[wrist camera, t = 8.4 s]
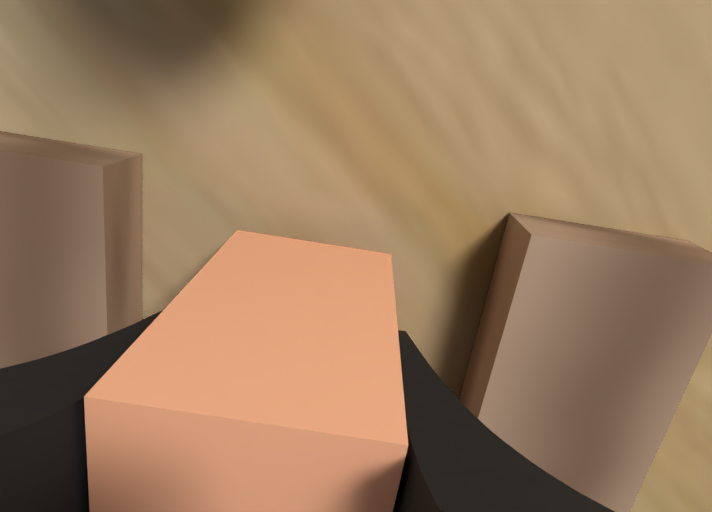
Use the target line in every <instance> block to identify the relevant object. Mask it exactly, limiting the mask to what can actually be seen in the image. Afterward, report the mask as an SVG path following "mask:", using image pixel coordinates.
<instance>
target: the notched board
mask: <svg viewBox="0 0 712 512" xmlns="http://www.w3.org/2000/svg"><path fill="white" fill-rule="evenodd" d="M141 320H142V154H139V153H133V152H126V151H120V150H114V149H107V148H101V147H95V146H89V145H82V144H76V143H70V142H64V141H57V140H51V139H45V138H38V137H32V136H26V135H20V134H13V133H7V132H1V131H0V369H1V368H5V367H9V366H13V365H17V364H21V363H25V362H29V361H33V360H37V359H40V358H43V357H47V356H50V355H53V354H56V353H60V352H63V351H66V350H69V349H72V348H75V347H78V346H80V345H83V344H86V343H89V342H91V341H94V340H96V339H99V338H101V337H103V336H106V335H108V334H111V333H113V332H116V331H118V330H121V329H123V328H126V327H128V326H130V325H132V324H135V323H137V322H139V321H141ZM711 334H712V253H711V252H709V251H708V250H706V249H704V248H702V247H700V246H698V245H696V244H694V243H692V242H690V241H684V240H678V239H672V238H666V237H659V236H653V235H647V234H641V233H634V232H628V231H622V230H615V229H609V228H603V227H597V226H590V225H584V224H578V223H572V222H565V221H559V220H553V219H546V218H540V217H534V216H528V215H521V214H515V213H509V216H508V220H507V224H506V227H505V231H504V235H503V238H502V242H501V246H500V249H499V253H498V257H497V261H496V264H495V268H494V272H493V275H492V279H491V283H490V286H489V290H488V294H487V297H486V301H485V305H484V308H483V312H482V316H481V320H480V323H479V327H478V331H477V334H476V338H475V342H474V345H473V349H472V353H471V356H470V360H469V364H468V367H467V371H466V375H465V379H464V382H463V386H462V390H461V393H460V397H459V401H460V402H461V403H462V404H463V405H464V406H465V407H466V408H467V409H468V410H469V411H470V412H471V413H472V414H473V415H474V416H476V417H477V418H478V419H479V420H480V421H481V422H482V423H483V424H484V425H485V426H486V427H488V428H489V429H490V430H491V431H492V432H493V433H494V434H496V435H497V436H498V437H499V438H501V439H502V440H503V441H504V442H506V443H507V444H508V445H510V446H511V447H512V448H513V449H515V450H516V451H517V452H519V453H520V454H521V455H523V456H524V457H525V458H527V459H528V460H530V461H531V462H532V463H534V464H535V465H537V466H538V467H540V468H541V469H543V470H544V471H546V472H547V473H549V474H550V475H552V476H554V477H555V478H557V479H558V480H560V481H561V482H563V483H565V484H566V485H568V486H569V487H571V488H573V489H574V490H576V491H578V492H579V493H581V494H583V495H585V496H587V497H588V498H590V499H592V500H594V501H596V502H598V503H600V504H602V505H603V506H605V507H607V508H609V509H611V510H613V511H615V512H629V511H630V509H631V507H632V505H633V503H634V501H635V498H636V496H637V494H638V492H639V490H640V488H641V485H642V483H643V481H644V479H645V477H646V475H647V472H648V470H649V468H650V466H651V464H652V462H653V459H654V457H655V455H656V453H657V451H658V449H659V446H660V444H661V442H662V440H663V438H664V436H665V433H666V431H667V429H668V427H669V425H670V423H671V420H672V418H673V416H674V414H675V412H676V410H677V407H678V405H679V403H680V401H681V399H682V397H683V394H684V392H685V390H686V388H687V386H688V384H689V381H690V379H691V377H692V375H693V373H694V371H695V368H696V366H697V364H698V362H699V360H700V357H701V355H702V353H703V351H704V349H705V347H706V344H707V342H708V340H709V338H710V336H711Z"/></svg>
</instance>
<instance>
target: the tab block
mask: <svg viewBox="0 0 712 512" xmlns="http://www.w3.org/2000/svg"><path fill="white" fill-rule="evenodd" d="M84 409H85V430H86V450H87V471H88V492H89V512H393V508H394V504H395V500H396V496H397V491H398V487H399V483H400V479H401V474H402V470H403V466H404V462H405V457H406V453H407V449H408V436H407V425H406V414H405V402H404V391H403V380H402V369H401V358H400V347H399V336H398V325H397V314H396V303H395V291H394V280H393V269H392V258H391V254H387V253H381V252H375V251H368V250H362V249H355V248H349V247H343V246H336V245H330V244H323V243H317V242H311V241H304V240H298V239H291V238H285V237H279V236H272V235H266V234H259V233H253V232H247V231H240V230H237V231H236V232H235V233H234V234H233V235H232V236H231V237H230V239H229V240H228V241H227V242H226V243H225V244H224V245H223V246H222V247H221V248H220V249H219V250H218V252H217V253H216V254H215V255H214V256H213V257H212V258H211V259H210V260H209V261H208V262H207V264H206V265H205V266H204V267H203V268H202V269H201V270H200V271H199V272H198V273H197V274H196V275H195V277H194V278H193V279H192V280H191V281H190V282H189V283H188V284H187V285H186V286H185V287H184V288H183V290H182V291H181V292H180V293H179V294H178V295H177V296H176V297H175V298H174V299H173V300H172V302H171V303H170V304H169V305H168V306H167V307H166V308H165V309H164V310H163V311H162V312H161V313H160V315H159V316H158V317H157V318H156V319H155V320H154V321H153V322H152V323H151V324H150V325H149V326H148V328H147V329H146V330H145V331H144V332H143V333H142V334H141V335H140V336H139V337H138V338H137V340H136V341H135V342H134V343H133V344H132V345H131V346H130V347H129V348H128V349H127V350H126V351H125V353H124V354H123V355H122V356H121V357H120V358H119V359H118V360H117V361H116V362H115V363H114V364H113V366H112V367H111V368H110V369H109V370H108V371H107V372H106V373H105V374H104V375H103V376H102V378H101V379H100V380H99V381H98V382H97V383H96V384H95V385H94V386H93V387H92V388H91V389H90V391H89V392H88V393H87V394H86V395H85V396H84Z"/></svg>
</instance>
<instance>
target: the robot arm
mask: <svg viewBox="0 0 712 512" xmlns="http://www.w3.org/2000/svg"><path fill="white" fill-rule="evenodd" d="M161 312H162V311H161ZM161 312H159V313H157V314H154V315H152V316H150V317H148V318H146V319H143V320H141V321H139V322H137V323H135V324H132V325H130V326H128V327H126V328H123V329H121V330H118V331H116V332H113V333H111V334H108V335H106V336H103V337H101V338H99V339H96V340H94V341H91V342H89V343H86V344H83V345H80V346H78V347H75V348H72V349H69V350H66V351H63V352H60V353H56V354H53V355H50V356H47V357H43V358H40V359H37V360H33V361H29V362H25V363H21V364H17V365H13V366H9V367H5V368H1V369H0V512H89V492H88V471H87V450H86V430H85V409H84V396H85V395H86V394H87V393H88V392H89V391H90V389H91V388H92V387H93V386H94V385H95V384H96V383H97V382H98V381H99V380H100V379H101V378H102V376H103V375H104V374H105V373H106V372H107V371H108V370H109V369H110V368H111V367H112V366H113V364H114V363H115V362H116V361H117V360H118V359H119V358H120V357H121V356H122V355H123V354H124V353H125V351H126V350H127V349H128V348H129V347H130V346H131V345H132V344H133V343H134V342H135V341H136V340H137V338H138V337H139V336H140V335H141V334H142V333H143V332H144V331H145V330H146V329H147V328H148V326H149V325H150V324H151V323H152V322H153V321H154V320H155V319H156V318H157V317H158V316H159V315H160V313H161ZM398 336H399V347H400V358H401V369H402V380H403V391H404V402H405V414H406V425H407V436H408V449H407V453H406V457H405V462H404V466H403V470H402V474H401V479H400V483H399V487H398V491H397V496H396V500H395V504H394V508H393V512H615V511H613V510H611V509H609V508H607V507H605V506H603V505H602V504H600V503H598V502H596V501H594V500H592V499H590V498H588V497H587V496H585V495H583V494H581V493H579V492H578V491H576V490H574V489H573V488H571V487H569V486H568V485H566V484H565V483H563V482H561V481H560V480H558V479H557V478H555V477H554V476H552V475H550V474H549V473H547V472H546V471H544V470H543V469H541V468H540V467H538V466H537V465H535V464H534V463H532V462H531V461H530V460H528V459H527V458H525V457H524V456H523V455H521V454H520V453H519V452H517V451H516V450H515V449H513V448H512V447H511V446H510V445H508V444H507V443H506V442H504V441H503V440H502V439H501V438H499V437H498V436H497V435H496V434H494V433H493V432H492V431H491V430H490V429H489V428H488V427H486V426H485V425H484V424H483V423H482V422H481V421H480V420H479V419H478V418H477V417H476V416H474V415H473V414H472V413H471V412H470V411H469V410H468V409H467V408H466V407H465V406H464V405H463V404H462V403H461V402H460V401H459V399H458V398H457V397H456V396H455V395H454V394H453V393H452V392H451V391H450V390H449V388H448V387H447V386H446V385H445V384H444V383H443V381H442V380H441V379H440V378H439V377H438V375H437V374H436V373H435V372H434V370H433V369H432V368H431V366H430V365H429V364H428V362H427V361H426V360H425V358H424V357H423V355H422V354H421V353H420V351H419V350H418V348H417V347H416V345H415V344H414V343H413V341H412V340H411V338H410V337H409V336H408V334H407V333H406V331H400V330H398Z"/></svg>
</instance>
